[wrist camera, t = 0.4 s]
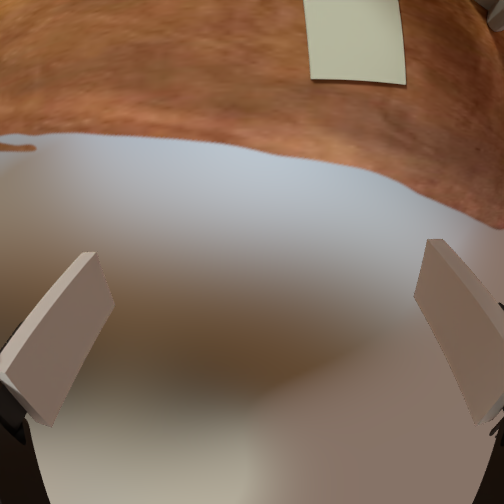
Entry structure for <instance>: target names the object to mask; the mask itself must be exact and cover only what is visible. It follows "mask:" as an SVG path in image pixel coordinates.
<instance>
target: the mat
mask: <svg viewBox="0 0 504 504" xmlns="http://www.w3.org/2000/svg"><path fill="white" fill-rule="evenodd" d="M303 4H304V12H305V21H306V31H307V42H308V53H309V65H310V79H336V80H358V81H372V82H384V83H394V84H402V85H406V75H405V58H404V45H403V35H402V26H401V18H400V10H399V3H398V0H303Z"/></svg>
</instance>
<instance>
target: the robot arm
mask: <svg viewBox="0 0 504 504" xmlns="http://www.w3.org/2000/svg"><path fill="white" fill-rule="evenodd" d="M414 298H415V300H416V302H417V303H418V305H419V307H420V309H421V311H422V313H423V314H424V316H425V318H426V320H427V322H428V324H429V325H430V327H431V329H432V331H433V333H434V335H435V337H436V339H437V341H438V343H439V345H440V347H441V349H442V351H443V353H444V355H445V357H446V359H447V361H448V363H449V365H450V368H451V370H452V372H453V374H454V376H455V379H456V381H457V383H458V385H459V388H460V390H461V392H462V394H463V396H464V399H465V402H466V404H467V406H468V409H469V411H470V414H471V416H472V419H473V421H474V424H475V426H478V425H480V424H483V423H486V422H488V421H491V420H493V419H494V418H495V417H496V415H497V414H498V413H499V412H500V411H501V409H503V411H504V305H503V304H501V303H497V302H496V300H495V299H494V298H493V297H492V295H491V294H490V293H489V291H488V290H487V289H486V288H485V287H484V285H483V284H482V283H481V282H480V280H479V279H478V278H477V277H476V276H475V274H474V273H473V272H472V271H471V270H470V269H469V267H468V266H467V265H466V264H465V263H464V262H463V261H462V260H461V258H460V257H459V256H458V255H457V254H456V253H455V252H454V251H453V250H452V249H451V247H450V246H449V245H448V244H447V243H446V242H445V241H444V240H443V239H427V243H426V248H425V252H424V257H423V261H422V266H421V270H420V274H419V278H418V282H417V286H416V290H415V293H414ZM114 306H115V303H114V301H113V298H112V295H111V293H110V290H109V287H108V285H107V282H106V279H105V276H104V273H103V270H102V267H101V265H100V261H99V258H98V256H97V252H86V253H85V252H84V253H81V255H80V256H79V257H78V258H77V259H76V260H75V261H74V262H73V263H72V264H71V265H70V266H69V268H68V269H67V270H66V271H65V272H64V273H63V274H62V276H61V277H60V278H59V279H58V280H57V281H56V282H55V284H54V285H53V286H52V287H51V289H49V291H48V292H47V293H46V294H45V295H44V297H43V298H42V299H41V300H40V302H39V303H38V304H37V305H36V307H35V308H34V309H33V310H32V312H31V313H30V314H29V316H28V317H27V318H26V319H25V320H24V321H23V322H21V323H20V324H19V325H18V327H17V328H16V329H15V331H14V332H13V334H12V336H10V338H9V339H8V340H7V343H5V344H4V346H3V347H2V349H1V350H0V504H50V501H49V498H48V496H47V493H46V489H45V486H44V483H43V480H42V476H41V473H40V470H39V466H38V462H37V459H36V455H35V450H34V446H33V442H32V438H31V433H30V428H29V424H28V422H27V420H26V419H25V418H24V417H25V415H26V413H28V414H29V415H30V416H31V417H32V418H33V419H34V420H35V421H36V422H38V423H41V424H43V425H46V426H49V427H52V426H53V424H54V421H55V419H56V417H57V415H58V413H59V410H60V408H61V406H62V404H63V402H64V400H65V398H66V396H67V394H68V392H69V390H70V388H71V386H72V384H73V381H74V380H75V378H76V376H77V374H78V372H79V370H80V368H81V366H82V364H83V362H84V360H85V358H86V356H87V355H88V353H89V351H90V349H91V347H92V345H93V343H94V342H95V340H96V338H97V336H98V334H99V333H100V331H101V329H102V327H103V326H104V324H105V322H106V320H107V319H108V317H109V315H110V313H111V312H112V310H113V308H114ZM498 429H499V430H498ZM497 430H498V434H497V435H496V436H495V438H496V441H495V444H494V447H493V451H492V454H491V457H490V460H489V463H488V466H487V468H486V471H485V474H484V477H483V479H482V482H481V484H480V487H479V489H478V492H477V494H476V497H475V499H474V501H473V503H472V504H504V417H503V418H502V419H501V420H500V422H499V423H498V424H497V425H496V426H495V427H494V428H493V429H492V430H491V432H490V434H489V435H490V436H492V435H493V434H494V433H495V432H496V431H497Z"/></svg>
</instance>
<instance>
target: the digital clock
mask: <svg viewBox="0 0 504 504" xmlns="http://www.w3.org/2000/svg"><path fill="white" fill-rule="evenodd" d="M474 1H476V2H477V3H479V4H480V5H481V6H483V7H484V8H485V9H487V10H488V17H487V23H488V25H489V27H490V28H491V29H492V30H493V31H495V32H498V31H503V30H504V0H474Z"/></svg>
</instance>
